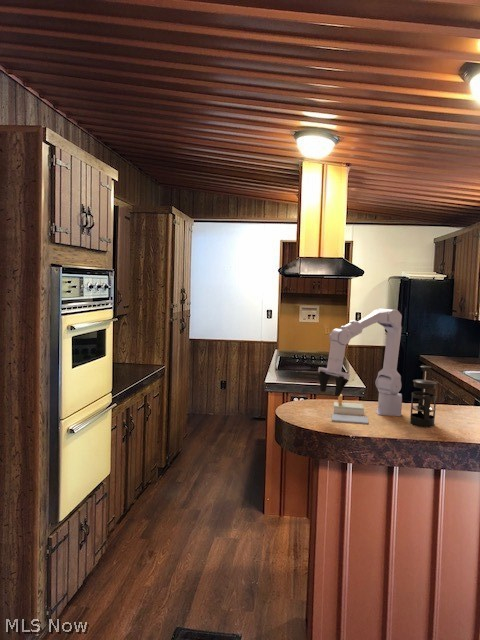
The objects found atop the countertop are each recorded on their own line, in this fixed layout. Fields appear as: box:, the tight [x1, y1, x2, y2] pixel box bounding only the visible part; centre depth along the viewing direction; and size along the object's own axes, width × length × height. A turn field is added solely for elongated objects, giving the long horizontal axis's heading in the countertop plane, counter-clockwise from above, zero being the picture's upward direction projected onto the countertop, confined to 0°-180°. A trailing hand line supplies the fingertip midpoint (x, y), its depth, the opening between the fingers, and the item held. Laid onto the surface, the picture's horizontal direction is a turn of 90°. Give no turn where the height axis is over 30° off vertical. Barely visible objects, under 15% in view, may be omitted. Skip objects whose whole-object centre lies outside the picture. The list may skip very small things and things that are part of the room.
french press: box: [409, 365, 438, 428], centre depth 209 cm, size 12×9×23 cm
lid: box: [333, 393, 365, 411], centre depth 223 cm, size 12×8×6 cm, turn 81°
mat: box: [330, 413, 370, 425], centre depth 213 cm, size 14×10×1 cm
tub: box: [332, 405, 365, 416], centre depth 223 cm, size 12×8×2 cm, turn 81°
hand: (329, 393), depth 210 cm, fingers open, 7 cm apart
